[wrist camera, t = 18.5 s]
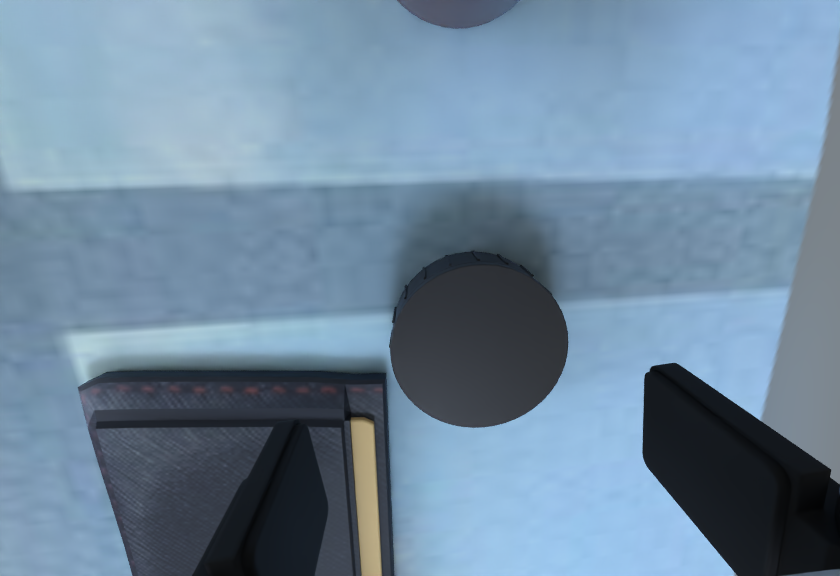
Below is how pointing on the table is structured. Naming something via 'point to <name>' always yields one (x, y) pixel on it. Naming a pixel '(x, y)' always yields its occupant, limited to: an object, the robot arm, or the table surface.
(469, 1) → the jar
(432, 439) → the table surface
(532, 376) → the lid
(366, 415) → the wallet
